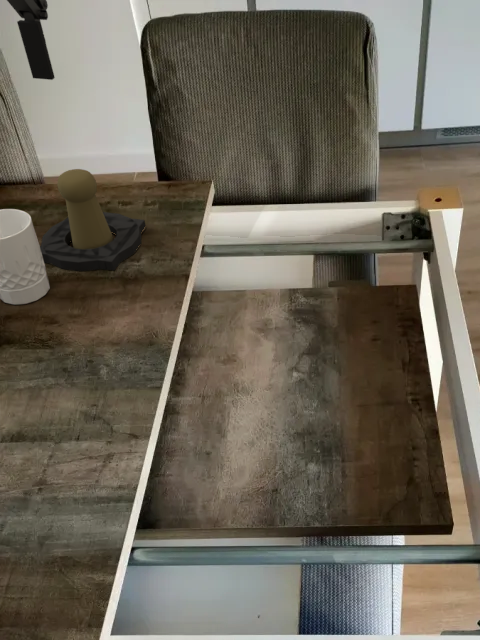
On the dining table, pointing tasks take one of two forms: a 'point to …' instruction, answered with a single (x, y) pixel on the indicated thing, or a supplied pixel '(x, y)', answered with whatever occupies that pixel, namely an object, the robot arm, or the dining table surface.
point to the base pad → (96, 258)
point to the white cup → (20, 259)
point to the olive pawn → (84, 209)
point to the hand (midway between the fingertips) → (17, 96)
